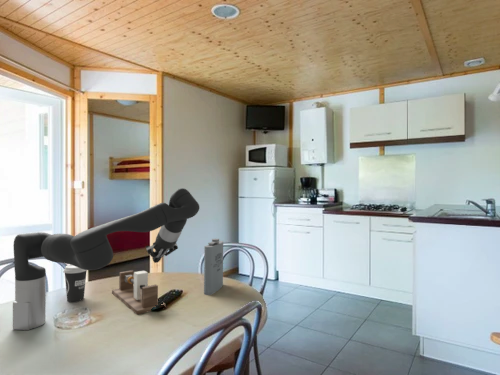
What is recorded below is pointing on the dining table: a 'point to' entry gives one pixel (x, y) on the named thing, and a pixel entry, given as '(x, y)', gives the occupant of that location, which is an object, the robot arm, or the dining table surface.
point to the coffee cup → (75, 283)
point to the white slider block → (139, 282)
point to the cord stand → (127, 294)
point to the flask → (213, 266)
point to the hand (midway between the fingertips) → (155, 260)
